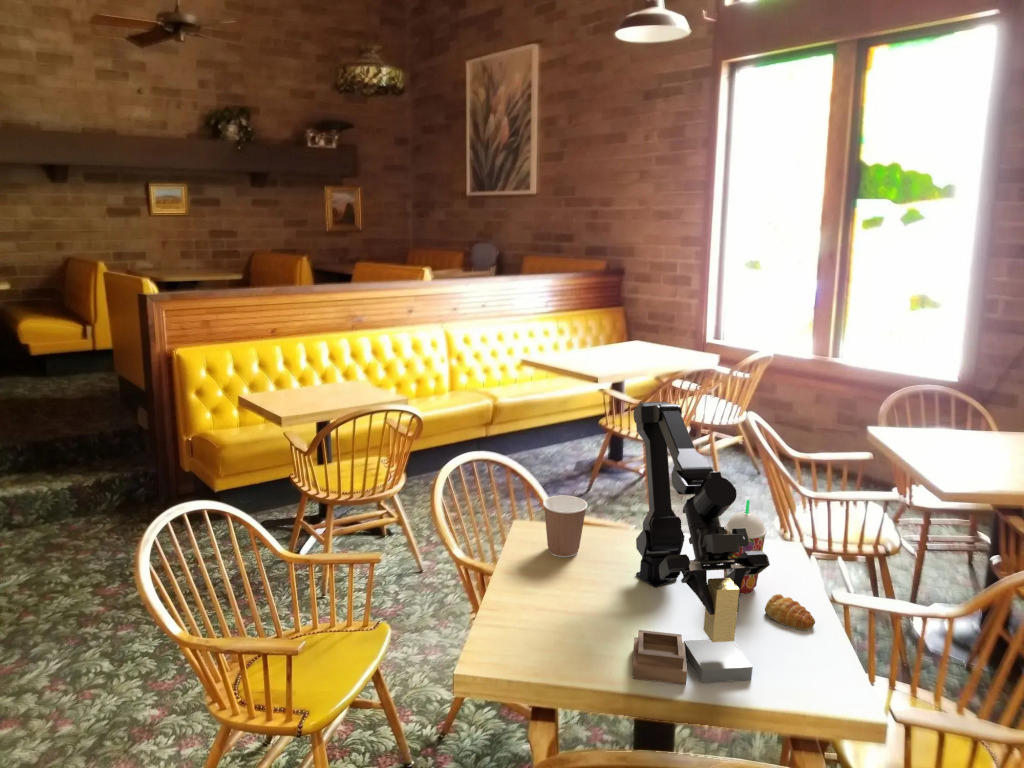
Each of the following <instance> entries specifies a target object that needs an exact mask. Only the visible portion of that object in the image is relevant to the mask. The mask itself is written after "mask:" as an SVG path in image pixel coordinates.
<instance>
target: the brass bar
mask: <svg viewBox="0 0 1024 768" xmlns="http://www.w3.org/2000/svg"><path fill="white" fill-rule="evenodd" d="M707 584H708V588H709V592H710V595H711V599H712V602H713V608H714V614H713V615H710V614H709V612H708V611H707V609H706V608H705V607H704V608H705V609H704V618H703V619H704V621H703V632H704V633H705V634H706V636H707V637H708V639H710V640H711V641H712V642H728V641H733V642H735V636H736V627H737V618H738V613H737V609H738V599H739V588H738V587H737V585H736V584H735V583H734V582H733V581H732V580H731V579H730V578H724V577H715V578H714V577H713V578H708V579H707Z"/></svg>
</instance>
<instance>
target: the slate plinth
mask: <svg viewBox="0 0 1024 768" xmlns="http://www.w3.org/2000/svg"><path fill="white" fill-rule="evenodd" d="M683 643H685V654H686V662H688V664H689V665H690V667H691V669H692V670H693V672H694V673H695V675H696V677H697V678H698V679H699V681H700V682H701V684H708V683H720V682H722V683H723V682H736V681H750V680H751V681H752V677H753V676H752V674H753V665H752V664H751V663H750V662H749V660H748V659H747V658H746V656H745V655H744V654H743V652H742V651H741V649H740V648H739V647H738V646H737V644H736V643H735V641H728V642H712V641H711V640H710V638H708V639H706V638H705V639H695V640H694V639H693V640H683Z"/></svg>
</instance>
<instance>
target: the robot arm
mask: <svg viewBox="0 0 1024 768" xmlns="http://www.w3.org/2000/svg"><path fill="white" fill-rule="evenodd" d="M682 412H683V411H682V408H681V405H679V404H677V403H669V402H668V401H651V402H650V401H646V402H645V401H644V402H643V401H641V402H639V403H638V406H636V407H634V408H633V421H634V423H635V425H636V432H637V434H638V435H639V436H640V438H641V440H642V441H643V442H644V445H645V457H646V458H645V461H646V462H645V464H646V476H647V478H646V479H647V489H648V490H647V491H648V492H647V493H648V508H649V510H648V512H647V513H646V515H645V517H644V519H643V521H642V531H641V532H640V533H639V535H638V536H637V537H636V539H635V545H636V550H637V551H638V553H639V554H640V556H641V559H640V565H639V567H640V569H639V571H637V572H636V573H635V576H636V577H638V578H639V579H641V580H642V581H644V582H646V583H647V584H649V585H651V586H652V587H655V588H658V587H661V586H663V585H667V584H670V583H673V582H676V581H677V579H678V577H679V576H680V574H681V575H682V576H683V577H682V578H681V579H680V582H681V584H686V585H687V586H688V587H689V588H690V589H691V591H693V593H694V594H695V595H696V597H697V598H698V600H699V601H700V602H701V603H702V605H703V607H704V608H706V609H707V611H708V612H709V614H710V615H713V614H714V608H713V602H712V599H711V595H710V592H709V588H708V579H707V577H708V576H707V573H708V572H707V571H720V570H721V571H724V570H726V571H727V575H728V576H726V577H725V578H730V579H731V580H732V581H733V582H734V583H735V584H736V585H737V587H738V588H739V599H738V609H737V614H738V612H739V609H740V598H741V597H740V596H741V593H740V590H741V585H742V581H743V578H744V576H746V575H756V574H758V575H759V574H761V573H762V572H763V571H765V569H767V568H768V567H769V566H770V565H771V564H770V560H769V556H768V555H767V554H766V553H765V552H764V551H748V552H744V553H743V554H741V555H740V556H739V557H738V558H728V556H732V555H733V554H734V553H738V552H740V547H743V546H748V544H749V540H748V535H747V532H746V528H733V529H732V534H726V530H725V526H721V522H720V521H721V520H720V517H721V516H722V515H723V514H724V513H725V512H726V511H727V510H728V509H729V508H730V507H731V505H732V504H733V503H734V502H735V501H736V499H737V496H738V495H737V494H738V493H737V489H736V486H734V485H733V483H732V482H731V481H730V480H728V479H727V478H725V477H723V476H722V472H721V471H718V470H717V471H715V470H714V469H713V467H712V465H711V463H710V462H709V461H708V459H707V457H705V456H703V454H701V453H699V452H698V451H697V449H696V448H695V445H694V442H693V440H692V438H691V435H690V433H689V431H688V428H687V426H686V423H685V421H684V418H683V416H682V414H683V413H682ZM668 451H669V453H668ZM669 454H670V456H671V459H672V463H673V468H672V471H671V474H670V469H669V468H670V466H669V456H668V455H669ZM670 475H671V479H670ZM670 480H671V483H670ZM671 484H672V487H673V489H674V490H675V492H676V493H677V494H678V495H682V496H689V495H690V496H691V495H693V496H692V497H690V498H687V499H686V500H685V503H684V505H683V507H682V513H683V514H685V517H686V521H687V526H688V531H689V536H690V537H689V538H688V543H689V545H692V549H693V555H694V559H691V560H690V558H689V556H688V555H687V554H686V553H685V554H683V553H682V550H683V546H684V543H685V535H684V532H683V529H682V520H681V518H680V516H677V514H676V513H675V512H674V510H673V508H672V498H671V497H672V494H671ZM681 553H682V554H681Z"/></svg>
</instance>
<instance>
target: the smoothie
mask: <svg viewBox="0 0 1024 768" xmlns="http://www.w3.org/2000/svg"><path fill="white" fill-rule="evenodd" d="M750 501H751V499H746V504H745V510H742V511H738V512H735V513H734V514H733V515H731V516H730V517H729V519H728V521H727V522H726V523H725V525H724V529H725V530H726V534H732V529H733V528H746V532H747V535H748V540H749V544H748V546H743V547H740V552H738V553H734V554H733V555H732V556H728V558H738V557H739V556H740V555H741V554H743V553H744V552H748V551H763V549H764V545H765V539H766V534H767V529H766V528H765V526H764V523H763V522H762V519H761V518H760V517H759V516H758V515H756V514H755V513H753V512H751V511H750V505H751V504H750V503H751V502H750ZM763 552H764V551H763ZM726 576H728V575H727V571H726V570H723V578H725V577H726ZM758 578H759V574H756V575H746V576H744V578H743V581H742V585H741V590H740V594H743V593H744V594H750V593H752V592H753V591H754V590H755V588H756V587H757V584H758Z"/></svg>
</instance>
